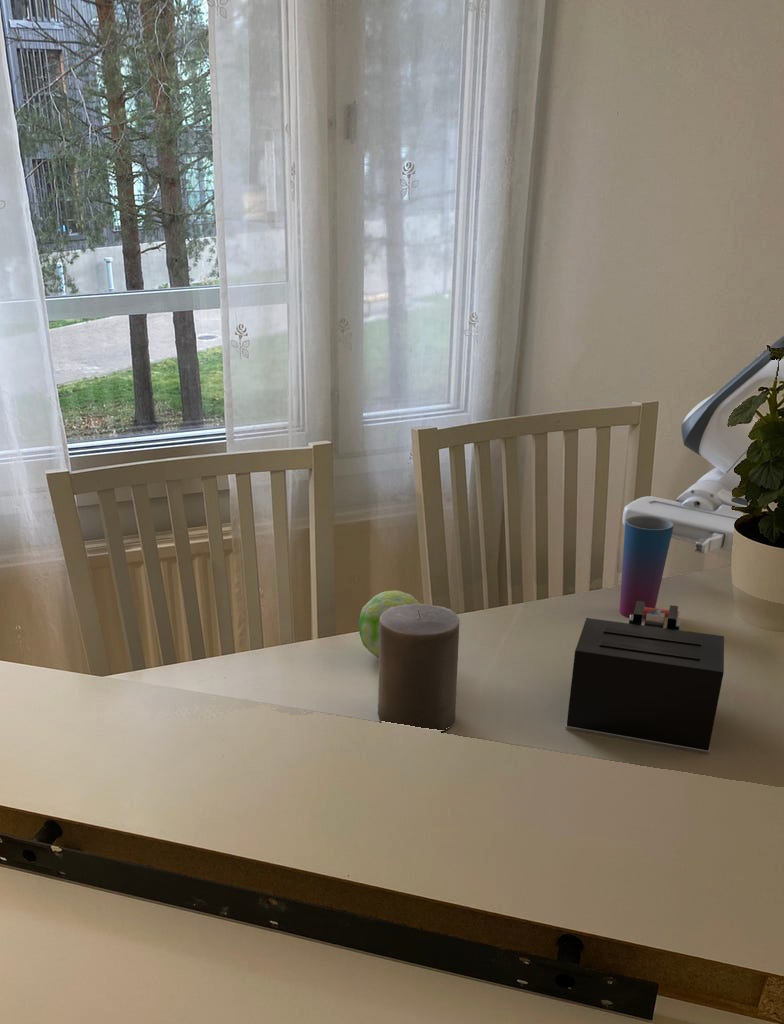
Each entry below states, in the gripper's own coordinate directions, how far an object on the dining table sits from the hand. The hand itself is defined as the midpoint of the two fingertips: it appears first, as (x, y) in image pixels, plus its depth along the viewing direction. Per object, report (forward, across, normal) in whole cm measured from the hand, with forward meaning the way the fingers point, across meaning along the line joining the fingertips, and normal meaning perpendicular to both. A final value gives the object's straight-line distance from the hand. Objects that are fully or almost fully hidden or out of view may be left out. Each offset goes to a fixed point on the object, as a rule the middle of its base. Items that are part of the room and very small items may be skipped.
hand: (669, 541), depth 143 cm
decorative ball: (+44, -22, +6) cm, 50 cm away
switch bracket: (+33, +10, +6) cm, 35 cm away
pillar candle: (+56, -9, +5) cm, 57 cm away
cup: (+9, 0, +9) cm, 13 cm away
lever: (+28, +9, -1) cm, 29 cm away
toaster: (+41, +13, +5) cm, 43 cm away
